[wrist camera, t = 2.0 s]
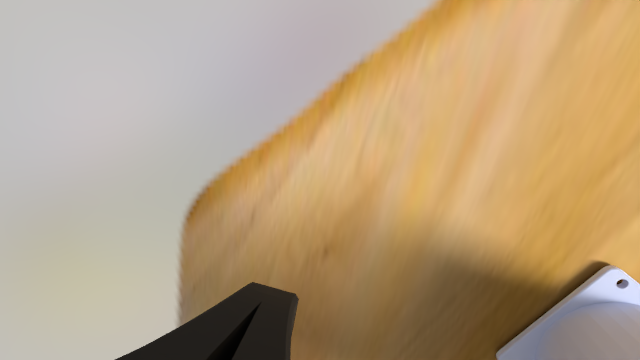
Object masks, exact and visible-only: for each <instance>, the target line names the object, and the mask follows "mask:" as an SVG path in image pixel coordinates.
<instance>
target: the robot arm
mask: <svg viewBox="0 0 640 360" xmlns="http://www.w3.org/2000/svg"><path fill="white" fill-rule="evenodd" d="M621 279H623V281H622V283H620V284H617V282H618V281H619V280H621ZM298 300H299V299H298V297H297V296H296V294H294V293H290V292H287V291H283V290H279V289H276V288H272V287H269V286H265V285H261V284H258V283H254V282H252V283H250V284H248V285H247V286H245V287H243V288H242V289H240V290H239V291H237V292H236V293H234V294H232V295H231V296H229V297H228V298H226V299H225V300H223V301H222V302H220V303H218V304H217V305H215V306H214V307H212V308H210V309H209V310H207V311H206V312H204V313H202V314H201V315H199V316H197V317H196V318H194V319H192V320H191V321H189V322H187V323H186V324H184V325H182V326H180V327H178V328H177V329H175V330H173V331H171V332H170V333H167V334H166V335H164V336H162V337H160V338H158V339H156V340H155V341H153V342H151V343H149V344H147V345H145V346H143V347H141V348H139V349H137V350H135V351H133V352H131V353H129V354H126V355H124V356H122V357H120V358H118V359H115V360H290V346H291V336H292V330H293V325H294V320H295V315H296V310H297V305H298ZM496 358H497V360H640V284H639V283H638V282H636V281H635V280H634V279H633V278H631V277H630V276H629V275H628V274H626V273H625V272H624V271H623V270H621V269H620V268H618V267H616V266H612V265H609V266H605V267H604V268H602V269H601V270H599V271H598V272H597V273H596V274H594V275H593V276H592V277H591V278H589V279H588V280H587V281H586V282H584V283H583V284H582V285H580V286H579V287H578V288H577V289H575V290H574V291H573V292H572V293H570V294H569V295H568V296H567V297H565V298H564V299H563V300H562V301H560V302H559V303H558V304H557V305H555V306H554V307H553V308H551V309H550V310H549V311H548V312H546V313H545V314H544V315H543V316H541V317H540V318H539V319H538V320H536V321H535V322H534V323H533V324H531V325H530V326H529V327H528V328H526V329H525V330H524V331H523V332H521V333H520V334H519V335H517V336H516V337H515V338H514V339H512V340H511V341H510V342H509V343H507V344H506V345H505V346H504V347H502V348H501V349H500V350H499V351H498V352H497V353H496Z"/></svg>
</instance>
